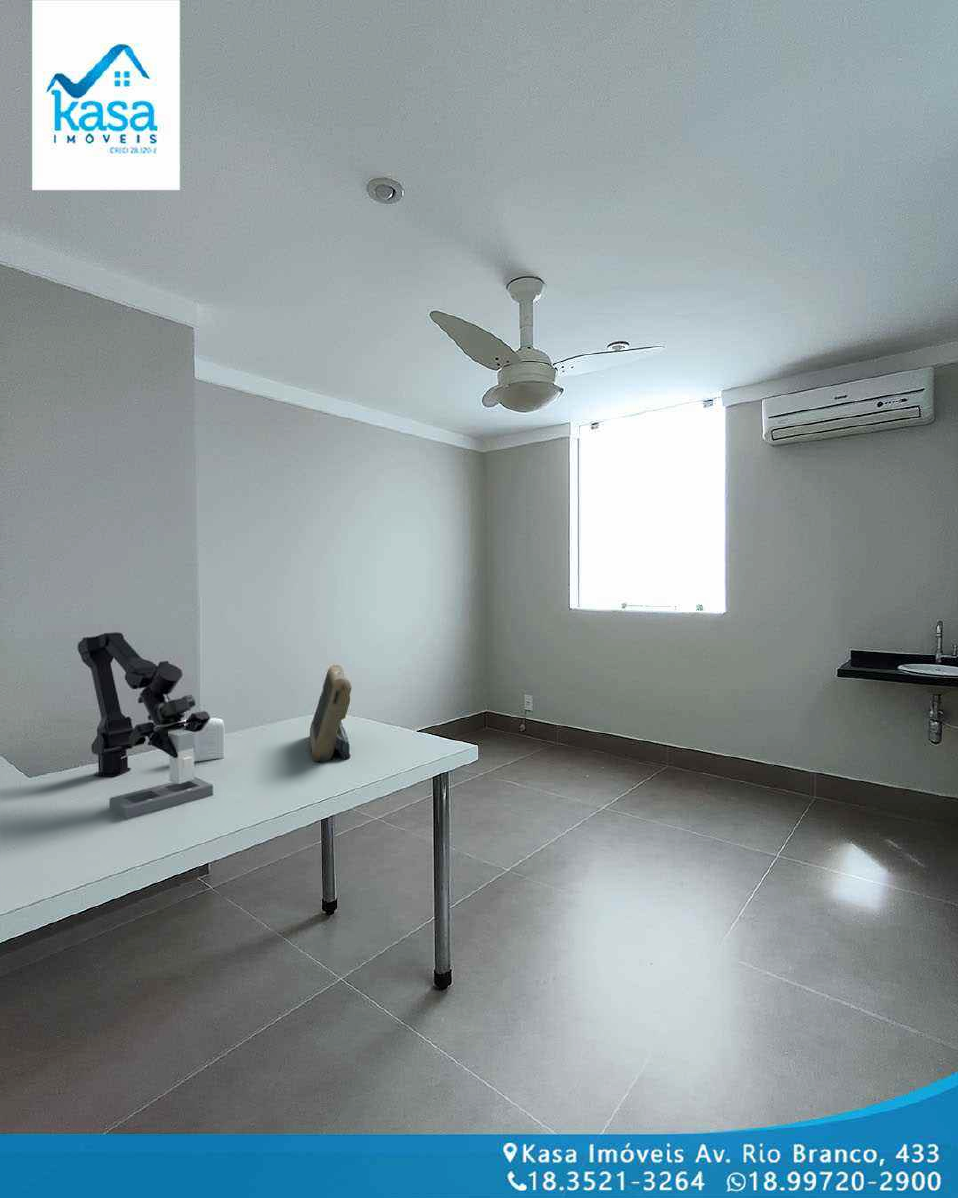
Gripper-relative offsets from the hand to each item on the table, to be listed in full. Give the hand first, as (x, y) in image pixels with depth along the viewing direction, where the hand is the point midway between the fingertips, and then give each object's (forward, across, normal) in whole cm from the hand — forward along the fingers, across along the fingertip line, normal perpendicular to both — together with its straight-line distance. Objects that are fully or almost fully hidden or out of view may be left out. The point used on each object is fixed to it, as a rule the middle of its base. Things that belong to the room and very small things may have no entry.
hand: (185, 755), depth 146 cm
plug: (+4, 0, +6) cm, 7 cm away
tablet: (+6, +51, +9) cm, 52 cm away
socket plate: (+6, -4, +9) cm, 12 cm away
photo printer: (-9, +22, +25) cm, 34 cm away
